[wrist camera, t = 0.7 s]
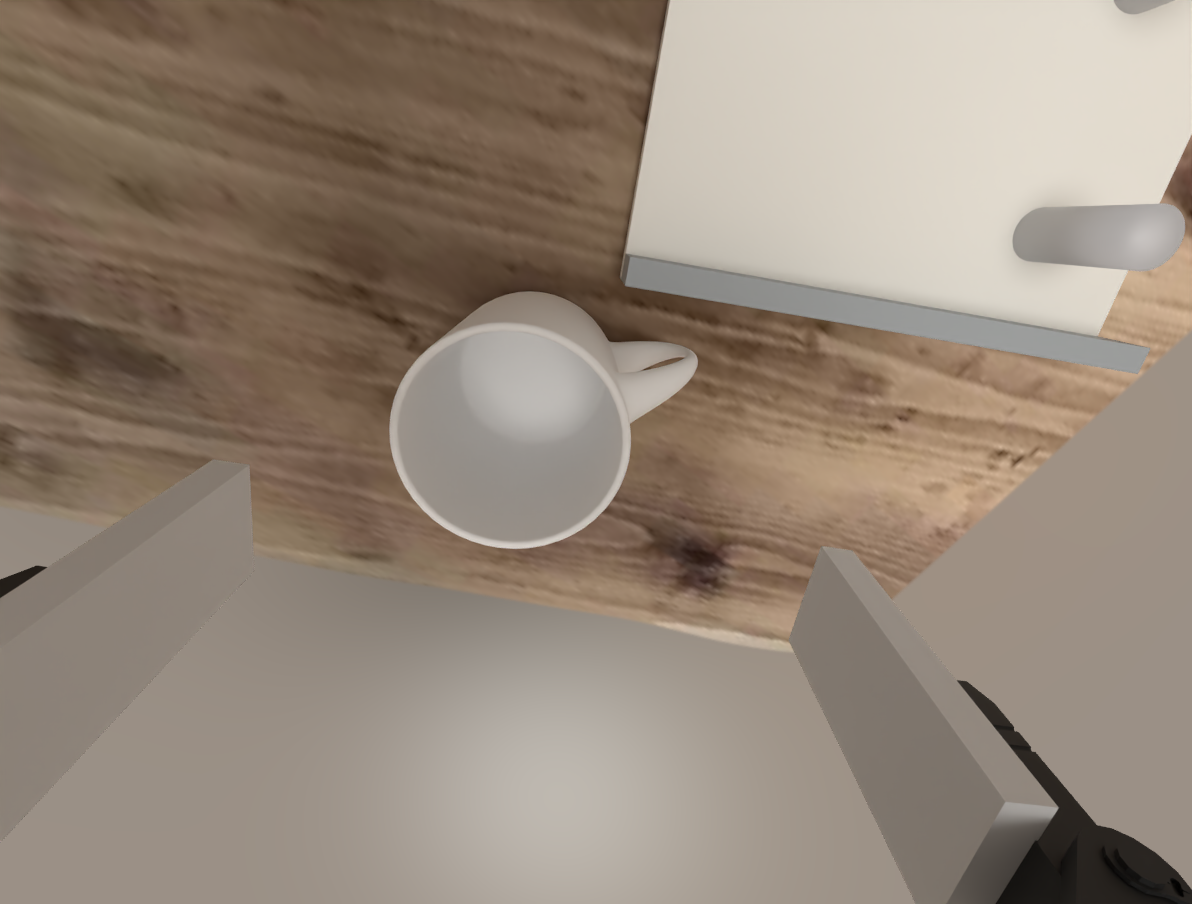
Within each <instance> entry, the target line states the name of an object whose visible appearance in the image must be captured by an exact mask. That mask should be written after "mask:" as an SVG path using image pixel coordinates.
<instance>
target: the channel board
mask: <svg viewBox="0 0 1192 904" xmlns="http://www.w3.org/2000/svg"><path fill="white" fill-rule="evenodd" d="M1191 134H1192V0H668V3H667V9H666V15H665V21H664V26H663V32H662V38H661V44H660V49H659V55H658V61H657V66H656V72H655V78H654V84H653V89H652V95H651V101H650V107H649V112H648V118H647V124H646V129H645V135H644V141H643V147H642V152H641V158H640V164H639V170H638V175H637V181H636V187H635V192H634V198H633V204H632V210H631V215H630V221H629V227H628V233H627V238H626V244H625V250H624V255H623V261H622V267H621V273H620V279H621V280H622V282H623V283H624V285H625V286H629V287H635V288H640V289H646V290H652V291H658V292H664V293H670V294H675V295H681V296H687V297H693V298H699V299H704V300H710V301H716V302H722V303H728V304H734V305H739V306H745V307H751V308H757V309H763V310H769V311H774V312H780V313H786V314H792V315H798V316H804V317H809V318H815V319H821V320H827V321H833V322H838V323H844V324H850V325H856V326H862V327H868V328H873V329H879V330H885V331H891V332H897V333H903V334H908V335H914V336H920V337H926V338H932V339H938V340H943V341H949V342H955V343H961V344H967V345H973V346H978V347H984V348H990V349H996V350H1002V351H1007V352H1013V353H1019V354H1025V355H1031V356H1037V357H1042V358H1048V359H1054V360H1060V361H1066V362H1072V363H1077V364H1083V365H1089V366H1095V367H1101V368H1107V369H1112V370H1118V371H1124V372H1130V373H1136V374H1138V372H1139V370H1140V368H1141V366H1142V364H1143V362H1144V360H1145V358H1146V356H1147V354H1148V352H1149V350H1150V348H1147V347H1143V346H1138V345H1134V344H1129V343H1125V342H1120V341H1116V340H1111V339H1107V338H1103V337H1098V334H1099V332H1100V330H1101V328H1102V325H1103V323H1104V321H1105V319H1106V317H1107V315H1108V313H1109V310H1110V308H1111V306H1112V304H1113V302H1114V300H1115V298H1116V295H1117V293H1118V291H1119V289H1120V287H1121V285H1122V283H1123V280H1124V278H1125V276H1126V274H1127V272H1128V270H1131V271H1148V270H1152V269H1155V268H1157V267H1159V266H1161V265H1162V264H1164V263H1165V262H1166V261H1168V260H1169V259H1170V258H1171V257H1172V256H1173V255H1174V253H1175V252H1176V251H1177V249H1178V248H1179V246H1180V244H1181V242H1182V240H1183V237H1184V232H1185V221H1184V217H1183V215H1182V213H1181V212H1180V211H1179V210H1178V209H1177V208H1176V207H1174V206H1172V205H1169V204H1159V203H1160V201H1161V199H1162V197H1163V194H1164V192H1165V190H1166V188H1167V186H1168V184H1169V182H1170V179H1171V177H1172V175H1173V173H1174V171H1175V169H1176V166H1177V164H1178V162H1179V160H1180V158H1181V156H1182V154H1183V151H1184V149H1185V147H1186V145H1187V143H1188V141H1189V139H1190V136H1191Z"/></svg>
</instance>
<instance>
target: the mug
mask: <svg viewBox="0 0 1192 904" xmlns="http://www.w3.org/2000/svg"><path fill="white" fill-rule="evenodd" d="M677 357H684V359H682V360H680V361H678V362H675V363H672V364H669V365H666V366H662V367H658V368H654V369H649V370H644V371H641V370H643V369H645V368H647V367H650V366H652V365H654V364H657V363H659V362H662V361H665V360H668V359H672V358H677ZM697 366H698V359H697V356H696V354H695V353H694V352H693V351H691V350H690V349H688V348H686V347H683V346H681V345H677V344H673V343H667V342H655V341H633V342H610V341H608V339H607V338H606V336H605V335H604V333H603V331H602V330H601V328H600V327H599V326H598V324H597V323H596V322H595V321H594V319H593V318H592V317H591V316H590V315H588V314H587V313H586V312H585V311H584V310H583V309H581V308H580V307H578V306H577V305H575V304H574V303H572V302H570V301H568V300H566V299H564V298H561V297H559V296H556V295H553V294H548V293H543V292H533V291H527V292H516V293H511V294H507V295H504V296H501V297H498V298H495V299H493V300H491V301H489V302H487V303H485V304H484V305H482V306H481V307H479V308H478V309H477V310H475V311H474V312H473V313H471V314H470V315H469V316H468V317H466V318H465V319H464V320H463V321H461V322H460V323H459V324H458V325H456V326H455V327H454V328H453V329H452V330H450V331H449V332H448V333H447V334H445V335H444V336H443V337H442V338H440V339H439V340H438V341H437V342H436V343H434V344H433V345H432V346H431V347H429V348H428V349H427V350H426V351H425V352H424V353H423V354H422V355H421V356H420V357H419V358H418V359H417V360H416V361H415V362H414V363H413V365H412V366H411V367H410V369H409V370H408V371H407V373H406V374H405V376H404V378H403V380H402V381H401V383H400V385H399V388H398V390H397V393H396V395H395V398H394V401H393V405H392V409H391V414H390V426H389V432H390V445H391V450H392V455H393V459H394V462H395V465H396V468H397V471H398V474H399V476H400V478H401V480H402V482H403V484H404V486H405V487H406V489H407V490H408V492H409V493H410V495H411V496H412V498H413V499H414V500H415V502H416V503H417V504H418V505H419V506H420V507H421V509H422V510H423V511H424V512H425V513H427V514H428V515H429V516H430V517H431V518H432V519H433V520H434V521H436V522H437V523H439V524H440V525H441V526H443V527H444V528H446V529H447V530H449V531H451V532H453V533H455V534H456V535H458V536H460V537H463V538H465V539H468V540H470V541H473V542H476V543H480V544H483V545H486V546H492V547H498V548H511V549H519V548H532V547H538V546H544V545H547V544H551V543H554V542H557V541H560V540H562V539H564V538H567V537H569V536H571V535H573V534H574V533H576V532H578V531H580V530H581V529H583V528H584V527H586V526H587V525H588V524H590V523H591V522H592V521H593V520H595V519H596V518H597V517H598V516H599V515H600V514H601V513H602V512H603V511H604V510H605V509H606V507H607V506H608V505H609V503H610V502H611V501H612V499H613V498H614V496H615V495H616V493H617V491H618V489H619V488H620V486H621V484H622V481H623V479H624V476H625V473H626V470H627V466H628V462H629V458H630V448H631V431H630V424H631V423H632V422H633V421H635V420H636V419H638V418H639V417H641V416H643V415H644V414H646V413H647V412H649V411H651V410H652V409H654V408H655V407H657V406H659V405H660V404H662V403H663V402H664V401H666V400H667V399H669V398H670V397H672V396H673V395H674V394H675V393H677V392H678V391H679V390H680V389H681V388H682V387H683V386H684V385H686V384H687V383H688V381H689V380H690V379H691V377H692V376H693V375H694V373H695V371H696V368H697Z"/></svg>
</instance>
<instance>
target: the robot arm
mask: <svg viewBox="0 0 1192 904" xmlns="http://www.w3.org/2000/svg"><path fill="white" fill-rule="evenodd" d="M253 572H254V555H253V533H252V511H251V489H250V467H249V465H248V464H241V463H234V462H227V461H220V460H212V461H210V462H209V463H207V464H206V465H204V466H203V467H201V468H199V469H198V470H196V471H195V472H193V473H192V474H190V475H189V476H187V477H186V478H184V479H183V480H181V481H180V482H178V483H176V484H175V485H173V486H172V487H170V488H169V489H167V490H166V491H164V492H163V493H161V494H160V495H158V496H156V497H155V498H153V499H152V500H150V501H149V502H147V503H146V504H144V505H143V506H141V507H140V508H138V509H137V510H135V511H133V512H132V513H130V514H129V515H127V516H126V517H124V518H123V519H121V520H120V521H118V522H117V523H115V524H113V525H112V526H110V527H109V528H107V529H106V530H104V531H103V532H101V533H100V534H98V535H97V536H95V537H94V538H92V539H90V540H89V541H88V542H86V543H84V544H83V545H81V546H80V547H78V548H77V549H75V550H74V551H72V552H70V553H69V554H67V555H66V556H64V557H63V558H61V559H60V560H58V561H57V562H55V563H54V564H52V565H51V566H49V567H42V566H35V567H32V568H30V569H27V570H24V571H21V572H19V573H16V574H14V575H11V576H8V577H6V578H3V579H1V580H0V842H1V841H2V840H3V839H4V838H5V837H6V836H7V835H8V834H9V833H10V832H11V831H12V830H13V828H14V827H15V826H16V825H17V824H18V823H19V822H20V821H21V820H22V819H23V818H24V817H25V816H26V815H27V814H28V812H29V811H30V810H31V809H32V808H33V807H34V806H35V805H36V804H37V803H38V802H39V801H40V799H42V797H43V796H44V795H45V794H46V793H47V792H48V791H49V790H50V789H51V788H52V786H54V784H55V783H56V782H57V781H58V780H59V779H60V778H61V777H62V776H63V775H64V774H65V773H66V772H67V771H68V770H69V768H70V767H71V766H72V765H73V764H74V763H75V762H76V761H77V760H78V759H79V758H80V757H81V756H82V755H83V754H84V753H85V751H86V750H87V749H88V748H89V747H90V746H91V745H92V744H93V743H94V742H95V741H96V739H97V738H99V736H100V735H101V734H102V733H103V732H104V731H105V730H106V729H107V728H108V727H109V726H110V725H111V723H113V721H115V719H116V718H117V717H118V716H119V715H120V714H121V713H122V712H123V711H124V710H125V709H126V708H127V707H128V706H129V704H130V703H131V702H132V701H133V700H134V699H135V698H136V697H137V696H138V695H139V694H140V693H141V692H142V691H143V689H144V688H145V687H146V686H147V685H148V684H149V683H150V682H151V681H152V680H153V679H154V678H155V677H156V675H157V674H158V673H159V672H160V671H161V670H162V669H163V668H164V667H165V666H166V665H167V664H168V663H169V662H170V661H171V660H172V658H173V657H174V656H175V655H176V654H177V653H178V652H179V651H180V650H181V649H182V648H183V647H184V646H185V645H186V644H187V642H188V641H189V640H190V639H191V638H192V637H193V636H194V635H195V634H196V633H197V632H198V631H199V629H201V627H202V626H203V625H204V624H205V623H206V622H207V621H208V620H209V619H210V618H211V617H212V616H213V615H214V613H215V612H216V611H217V610H218V609H219V608H220V607H221V606H222V605H223V604H224V603H225V601H227V600H228V599H229V597H230V596H231V595H232V594H233V593H234V592H235V591H236V590H237V589H238V588H239V587H240V586H241V585H242V584H243V583H244V582H245V580H246V579H247V578H248V577H249V576H250V575H251V574H252V573H253ZM789 642H790V644H791V646H792V648H793V650H794V652H795V655H796V657H797V659H798V661H799V663H800V665H801V667H802V669H803V671H804V673H805V675H806V677H807V679H808V681H809V684H810V685H811V688H812V690H813V692H814V694H815V696H816V698H817V700H818V702H819V704H820V706H821V708H822V710H823V713H824V715H825V717H826V719H827V721H828V723H829V725H830V727H831V729H832V731H833V733H834V735H835V737H836V740H837V742H838V744H839V746H840V748H841V750H842V752H843V754H844V756H845V758H846V760H847V762H848V765H849V767H850V769H851V771H852V773H853V775H854V777H855V779H856V781H857V783H858V785H859V787H860V789H861V791H862V794H863V796H864V798H865V800H866V802H867V804H868V806H869V808H870V810H871V812H872V814H873V816H874V818H875V820H876V822H877V825H878V827H879V829H880V831H881V833H882V835H883V837H884V839H885V841H886V843H887V845H888V847H889V850H890V851H891V854H892V856H893V858H894V860H895V862H896V864H897V866H898V868H899V870H900V872H901V874H902V876H903V879H904V881H905V883H906V885H907V887H908V889H909V891H910V893H911V895H912V897H913V899H914V901H915V904H1192V890H1191V888H1190V887H1189V886H1188V885H1187V883H1186V882H1185V881H1184V880H1183V878H1182V877H1181V876H1180V875H1179V873H1178V872H1177V871H1176V870H1175V869H1173V868H1172V867H1171V866H1170V865H1169V864H1168V863H1166V861H1164V860H1163V859H1162V858H1161V857H1160V856H1159V855H1157V854H1156V853H1155V852H1153V851H1152V850H1150V849H1149V848H1147V847H1146V846H1144V845H1143V844H1141V843H1140V842H1138V841H1136V840H1135V839H1134V838H1132V837H1129V836H1127V835H1125V834H1123V833H1121V832H1119V831H1116V830H1114V829H1112V828H1107V827H1102V826H1097V825H1096V824H1095V823H1094V821H1093V820H1092V819H1091V818H1090V816H1089V815H1088V814H1087V813H1086V812H1085V811H1084V809H1083V808H1082V807H1081V806H1080V805H1079V804H1078V802H1077V801H1076V800H1075V799H1074V797H1073V796H1072V795H1071V794H1070V793H1069V792H1068V790H1067V789H1066V788H1065V787H1064V786H1063V784H1062V783H1061V782H1060V781H1059V780H1058V778H1057V777H1056V776H1055V775H1054V774H1053V773H1052V771H1051V770H1050V769H1049V768H1048V767H1047V765H1046V764H1045V763H1044V762H1043V761H1042V760H1041V758H1040V757H1039V756H1038V755H1037V754H1036V752H1032V751H1031V747H1030V746H1029V744H1028V743H1027V742H1026V741H1025V739H1024V738H1023V737H1022V736H1021V735H1020V733H1019V732H1015V731H1014V727H1013V725H1012V724H1011V723H1010V722H1009V720H1008V719H1007V718H1006V717H1005V716H1004V714H1003V713H1002V712H1001V711H1000V710H999V708H998V707H997V706H996V705H995V704H994V703H993V702H992V701H991V700H989V699H988V698H987V697H986V696H984V695H983V694H982V693H981V692H979V691H978V690H977V689H976V688H974V687H973V686H972V685H970V684H969V683H968V682H966V681H958V680H956V679H955V678H954V677H953V675H952V674H951V673H950V672H949V670H948V669H947V668H946V667H945V665H944V664H943V663H942V662H941V661H940V659H939V658H938V657H937V656H936V654H935V653H934V652H933V650H932V649H931V648H930V647H929V645H928V644H927V643H926V642H925V641H924V639H923V638H922V637H921V635H920V634H919V633H918V632H917V631H916V629H915V628H914V627H913V626H912V624H911V623H910V622H909V621H908V619H907V618H906V617H905V616H904V614H903V613H902V612H901V611H900V609H899V608H898V607H897V606H896V604H895V603H894V602H893V601H892V599H891V598H890V597H889V596H888V594H887V593H886V592H885V591H884V589H883V588H882V587H881V586H880V584H879V583H878V582H877V581H876V579H875V578H874V577H873V576H872V574H871V573H870V572H869V571H868V569H867V568H866V567H865V566H864V564H863V563H862V562H861V561H860V560H859V558H858V557H857V556H856V555H855V553H854V552H853V551H852V550H845V549H838V548H831V547H824V546H821V549H820V551H819V554H818V557H817V560H816V563H815V566H814V569H813V572H812V574H811V577H810V580H809V583H808V586H807V589H806V592H805V594H804V597H803V600H802V603H801V606H800V609H799V612H798V614H797V617H796V620H795V623H794V626H793V629H792V632H791V635H790V637H789Z"/></svg>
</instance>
